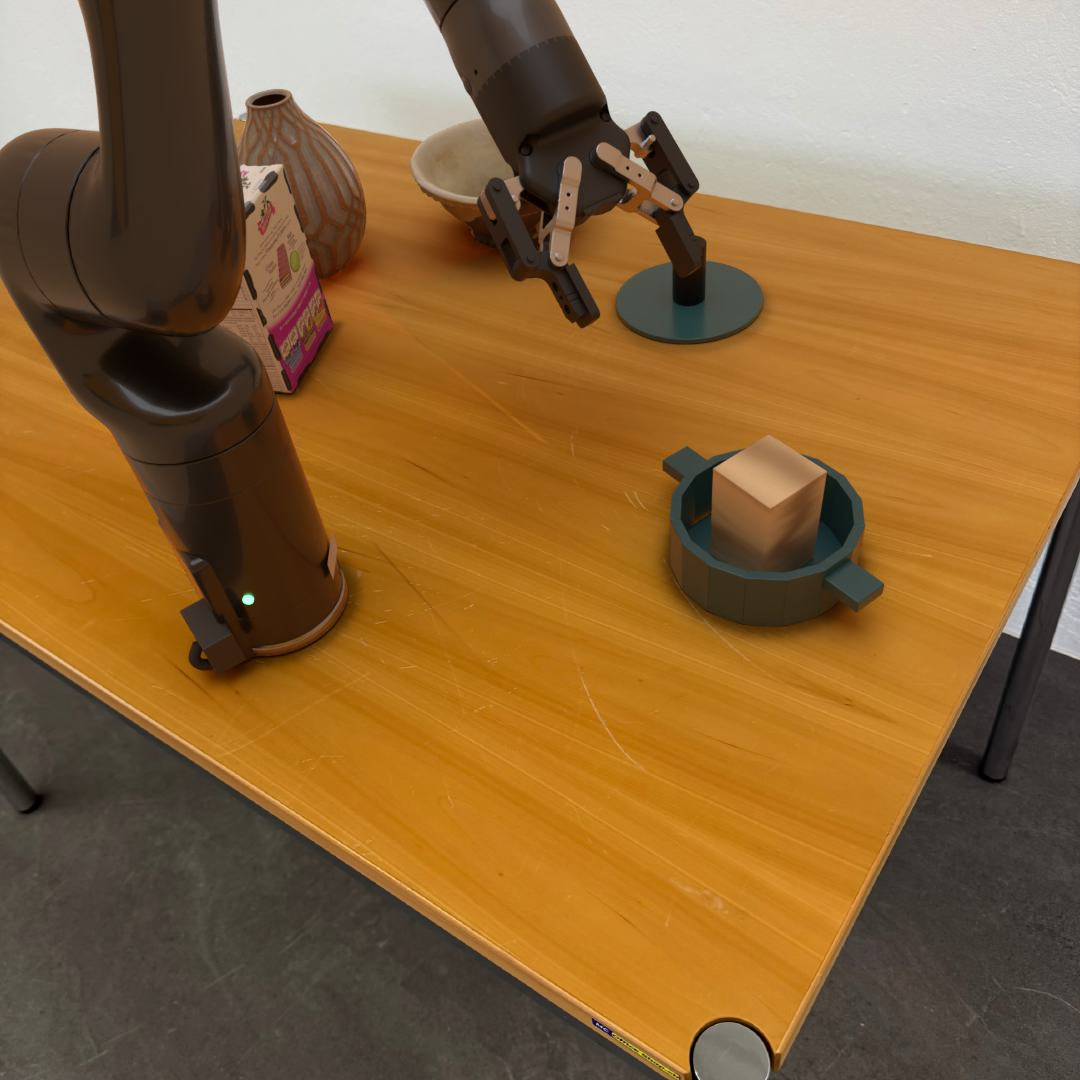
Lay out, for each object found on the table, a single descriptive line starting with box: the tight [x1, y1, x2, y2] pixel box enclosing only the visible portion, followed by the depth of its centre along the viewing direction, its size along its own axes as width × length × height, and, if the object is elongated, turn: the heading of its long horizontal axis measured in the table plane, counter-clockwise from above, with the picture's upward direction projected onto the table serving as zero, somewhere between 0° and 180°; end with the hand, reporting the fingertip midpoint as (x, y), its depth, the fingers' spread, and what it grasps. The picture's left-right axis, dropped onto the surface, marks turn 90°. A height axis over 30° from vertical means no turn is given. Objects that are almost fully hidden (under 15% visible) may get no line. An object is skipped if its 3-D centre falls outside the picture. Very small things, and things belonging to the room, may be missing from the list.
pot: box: [662, 445, 885, 627], centre depth 64 cm, size 12×18×5 cm
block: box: [710, 434, 827, 572], centre depth 63 cm, size 5×5×8 cm
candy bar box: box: [220, 164, 335, 394], centre depth 83 cm, size 11×5×16 cm, turn 168°
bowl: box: [409, 117, 542, 249], centre depth 98 cm, size 18×18×10 cm
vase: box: [237, 88, 367, 281], centre depth 95 cm, size 13×13×18 cm
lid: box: [615, 234, 764, 345], centre depth 86 cm, size 14×14×7 cm
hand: (643, 296), depth 62 cm, fingers open, 8 cm apart
